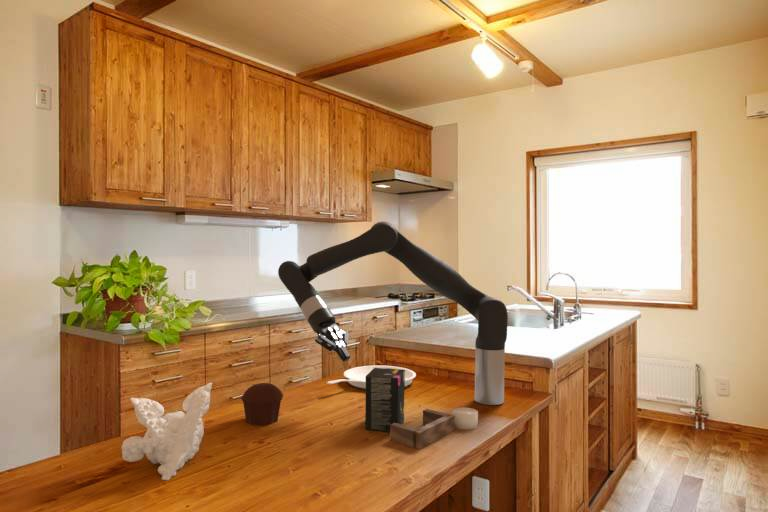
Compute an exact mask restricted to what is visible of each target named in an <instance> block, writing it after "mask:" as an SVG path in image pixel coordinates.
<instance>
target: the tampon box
mask: <svg viewBox="0 0 768 512" xmlns="http://www.w3.org/2000/svg"><path fill="white" fill-rule="evenodd" d="M405 388H406V387H405V370H400V369H388V368H385V369H383V368H374V369H373V370H372V371H371V372H370V373H368V374H367V375H366V389H365V416H364V417H365V423H364V424H365V426H364V429H365V430H367V431H378V432H379V431H380V432H388V433H390V425H391V424H393V423H398V424H402V425H404V423H405Z"/></svg>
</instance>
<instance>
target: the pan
mask: <svg viewBox="0 0 768 512" xmlns="http://www.w3.org/2000/svg"><path fill="white" fill-rule="evenodd" d="M374 368H383V369H385V368H388V369H400V370H405V388H407V387H408V385H409V386H410V385H411V384H412V382H413V379H414V378H416V377H417V373H416V372H415V371H413V370H411V369H410V368H409V369H408V368H405V367H402V366H401V367H400V366H393V365H364V366H356V367H352V368H349V369H347V370H345V371H344V372H343V377H345V379H343V378H342V379H335V380H329V381H326V384H327V385H333V384H338V383H341V382H347V383H348V384H349V385H350V386H352V387H354V388H358V389H360V390H361V389H362V390H366V375H367V374H368V373H370V372H371V371H372V370H373V369H374Z"/></svg>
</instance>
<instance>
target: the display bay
mask: <svg viewBox="0 0 768 512" xmlns="http://www.w3.org/2000/svg"><path fill="white" fill-rule="evenodd" d="M424 425H425V426H424ZM455 431H456V428H455V415H452V414H450V413H445V412H442V411H441V412H440V411H437V410H433V409H429V408H425V409H424V410H422V426H421V427H418V428H416V427H412V426H409V425H405V424H398V423H393V424H391V425H390V432H389V441H390V440H391V442H393V441H394V443H397V444H401V445H405V446H407V447H411V448H414V449H418V450H421V449H423V448H424V447H427V446H428V445H430V444H432V443H435V442H436V441H438V440H440V439H442V438H443V437H446V436H448V435H449V434H451V433H453V432H455Z"/></svg>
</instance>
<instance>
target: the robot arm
mask: <svg viewBox="0 0 768 512" xmlns="http://www.w3.org/2000/svg"><path fill="white" fill-rule="evenodd" d="M383 252H384V253H386V254H388V255H390V256H391V257H393V258H394V259H396V260H398V261H399V262H400V263H401V264H403V266H405V267H406V269H408V270H409V271H410V272H411V273H412V274H413V275H414V276H415V277H416V278H417V279H419V280H420V281H421V282H422V283H423V284H425V285H426V286H428V287H429V288H431V289H432V290H433V291H435V292H437V293H438V294H440V295H441V296H443V297H445V298H448V299H449V300H451V301H453V302H455V303H457V304H458V305H460V306H461V307H462V308H463V309H464V310H466V311H467V312H468V313H469V314H470V315H471V316H473V318H475V320H477V323H478V325H477V326H478V327H477V336H476V338H475V342H474V343H475V347H474V351H475V353H474V354H475V355H474V357H475V358H474V362H475V363H474V401H475V403H478V404H480V405H485V406H499V405H502V404H504V403H505V354H506V351H505V349H506V341H507V338H508V319H509V317H508V310H507V308H508V307H507V306H506V304H505V303H504V302H503V301H502V300H500V299H498V298H495V297H492V296H490V295H488V294H486V293H484V292H482V291H481V290H479V289H477V288H476V287H474V286H473V285H471V284H470V283H469V282H468V281H467V280H466V279H465V278H464V277H463V275H461V274H460V273H459V272H457V270H455V269H454V268H453V267H452V266H451V265H449V264H448V263H446V262H445V261H444V260H443V259H440V257H438V256H436V255H434V254H433V253H431V252H429V251H428V250H426V249H424V248H423V247H421V246H419V245H416V243H414V242H412V241H411V240H410V239H409V238H407V237H406V236H405V235H403V234H402V233H401V231H399V230H398V229H397V228H396V227H395V225H393V224H392V223H390V222H387V221H378V222H376V223H374V224H373V225H372V226H371V228H370V229H368V230H366V231H365V232H363V233H362V234H360V235H358V236H357V237H354V238H353V239H350V240H348V241H345V242H342V243H339V244H335V245H332V246H328V247H327V248H324V249H322V250H319V251H317V252H314V253H313V254H311V255H309V256H308V257H307V258H306V262H305V263H303V264H302V265H299V264H298V263H296V262H295V261H291V260H287V261H283V262H282V263H281V264H280V265H279V267H278V271H277V275H278V278H279V280H280V281H281V283H282V284H283V285H284V287H285V288H286V289H287V290H288V291H289V292H290V294H291V295H292V297H293V298H294V300H295V302H296V304H297V305H298V307H299V308H300V310H301V312H302V315H303V316H304V318H305V320H306V321H307V323H308V325H310V327H311V329H312V331H313V332H314V333H316V335H317V337H316V338H315V339H314V343H317V344H319V345H320V346H321V347H323V348H324V349H326V351H329V352H334V353H336V354H337V355H338V358H340V360H341V361H342V362H348V361H349V360H350V359H351V355H350V352H349V351H348V349H347V348H346V347H347V346H348V344H349V330H348V329H345V330H342V329H341V327H340V326H338V325H337V323H336V317H335V316H334V314H333V313H332V311H331V310H330V308H329V306H328V305H327V303H326V302H325V300H324V299H322V297H321V295H319V293H318V291H317V290H316V288H315V287H314V286H313V285H312V284H311V283H310V282H312V281H313V280H315V279H316V278H317V277H318V276H321V275H323V274H325V273H328V272H331V271H333V270H335V269H338V268H339V267H342V266H344V265H346V264H349V263H351V262H352V261H355V260H357V259H360V258H363V257H366V256H369V255H375V254H378V253H383Z"/></svg>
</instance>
